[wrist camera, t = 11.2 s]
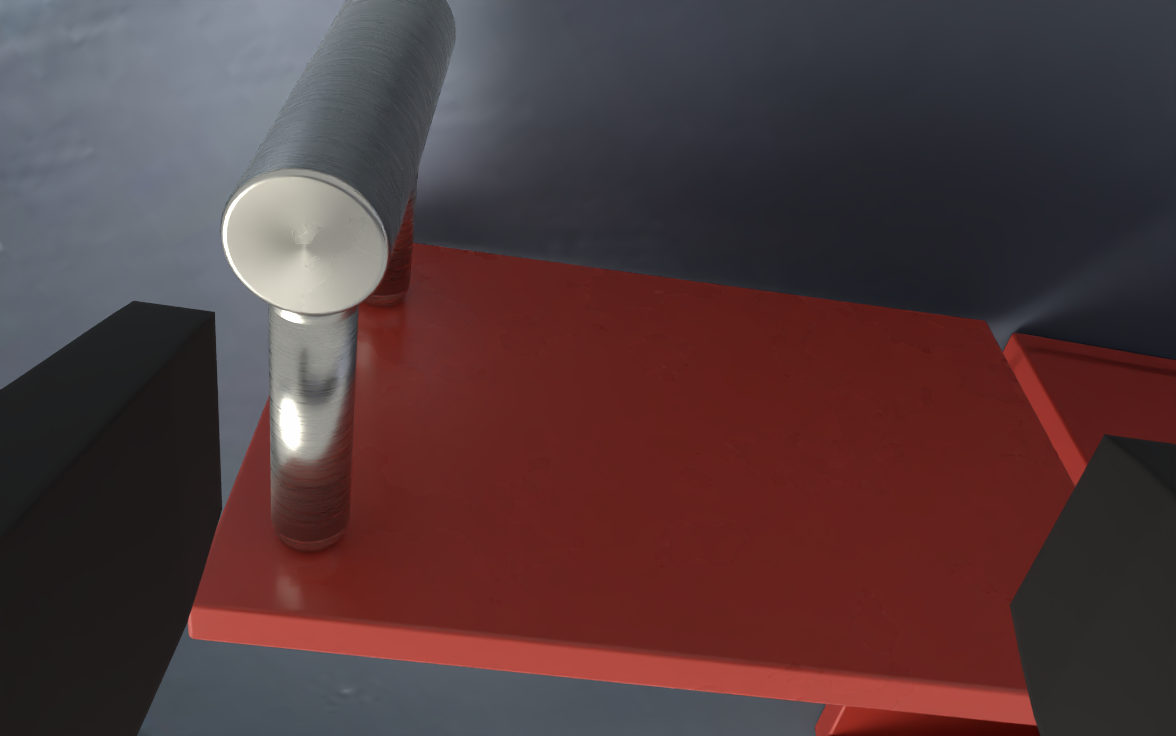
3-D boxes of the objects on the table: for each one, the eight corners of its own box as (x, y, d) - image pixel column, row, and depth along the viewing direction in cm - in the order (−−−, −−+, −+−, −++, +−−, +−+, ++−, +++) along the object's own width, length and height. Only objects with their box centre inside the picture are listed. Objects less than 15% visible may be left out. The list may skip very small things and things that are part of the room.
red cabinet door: (1101, 52, 17) (1452, 371, 10) (975, 346, 20) (1175, 742, 13) (340, -69, 16) (150, 192, 9) (332, 259, 19) (186, 640, 12)
